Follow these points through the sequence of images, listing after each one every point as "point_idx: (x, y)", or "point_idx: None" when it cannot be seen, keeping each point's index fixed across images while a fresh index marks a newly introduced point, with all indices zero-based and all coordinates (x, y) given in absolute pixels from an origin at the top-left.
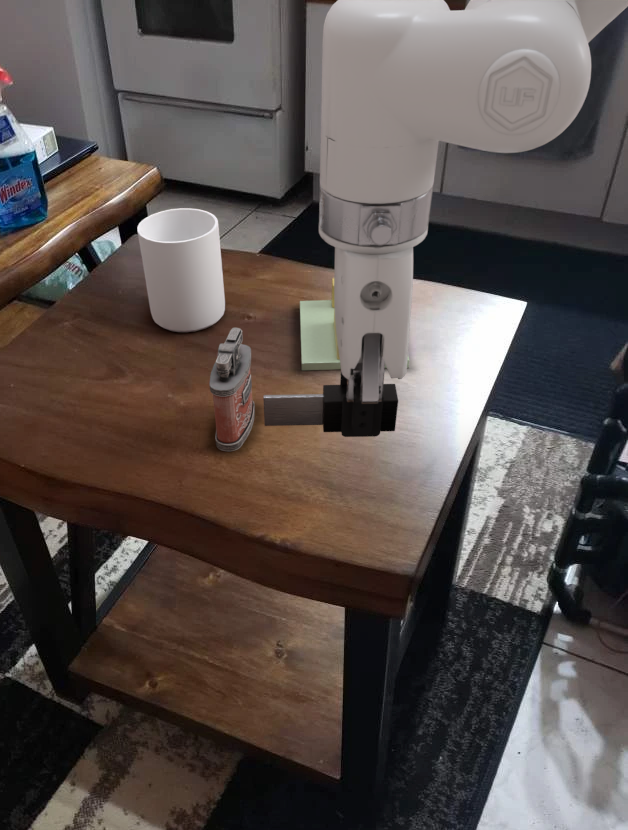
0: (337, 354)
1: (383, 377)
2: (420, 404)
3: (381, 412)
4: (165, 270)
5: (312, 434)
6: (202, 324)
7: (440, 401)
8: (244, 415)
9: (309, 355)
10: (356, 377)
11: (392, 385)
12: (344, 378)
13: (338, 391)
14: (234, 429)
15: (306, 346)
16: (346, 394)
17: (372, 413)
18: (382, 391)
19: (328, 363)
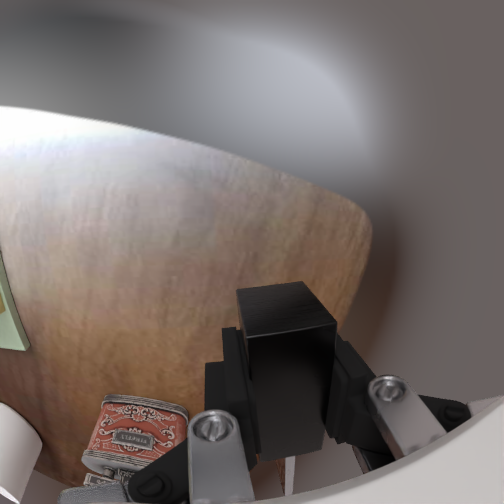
0: (1, 313)
1: (443, 428)
2: (48, 191)
3: (345, 345)
4: (22, 480)
5: (133, 337)
6: (24, 424)
7: (42, 163)
8: (152, 422)
9: (11, 341)
10: (258, 437)
11: (258, 344)
12: (260, 452)
13: (285, 441)
14: (179, 428)
15: (2, 342)
16: (340, 440)
17: (368, 368)
18: (417, 396)
19: (13, 320)
